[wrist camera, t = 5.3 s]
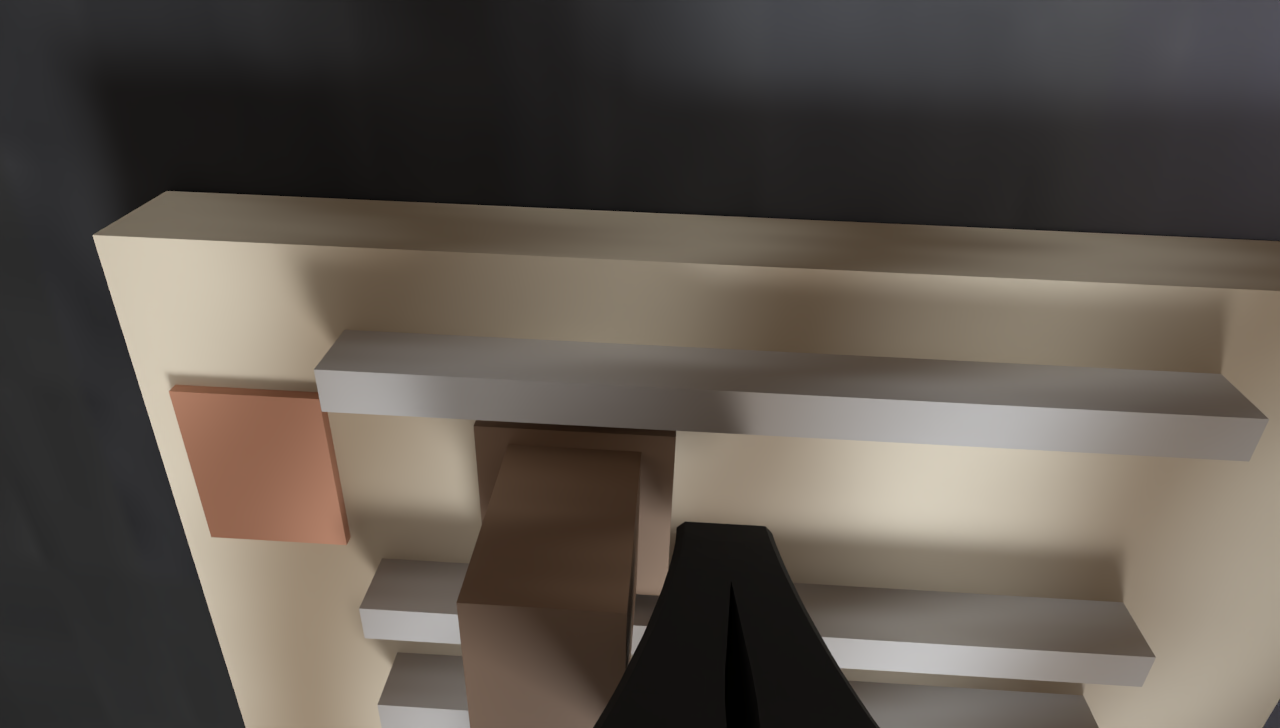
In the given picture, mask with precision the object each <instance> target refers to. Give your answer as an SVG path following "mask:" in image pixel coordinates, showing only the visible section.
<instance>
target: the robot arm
mask: <svg viewBox="0 0 1280 728" xmlns="http://www.w3.org/2000/svg"><path fill="white" fill-rule="evenodd" d="M593 728H880V727H879V726H878V725H877V723H876V722H875V720H874V719H873V718H872V716H871V715H870V713H869V712H868V710H867V709H866V707H865V706H864V704H863V703H862V701H861V700H860V698H859V697H858V695H857V694H856V692H855V691H854V689H853V688H852V686H851V685H850V683H849V681H848V680H847V678H846V677H845V675H844V674H843V672H842V671H841V669H840V667H839V666H838V664H837V662H836V661H835V659H834V657H833V656H832V654H831V652H830V651H829V649H828V647H827V645H826V644H825V642H824V640H823V638H822V637H821V635H820V633H819V631H818V630H817V628H816V626H815V624H814V622H813V621H812V619H811V617H810V615H809V613H808V612H807V610H806V608H805V606H804V604H803V602H802V600H801V598H800V596H799V594H798V592H797V590H796V588H795V586H794V584H793V582H792V580H791V578H790V576H789V573H788V571H787V569H786V567H785V565H784V562H783V560H782V558H781V555H780V553H779V550H778V548H777V545H776V543H775V540H774V537H773V534H772V532H771V531H770V530H769V529H768V528H767V527H766V526H755V525H738V524H720V523H703V522H686V521H685V522H684V523H682V524H681V525H679V526H678V527H677V529H676V540H675V546H674V551H673V555H672V559H671V563H670V566H669V569H668V572H667V575H666V578H665V581H664V584H663V587H662V590H661V593H660V595H659V598H658V600H657V603H656V605H655V608H654V610H653V613H652V615H651V617H650V620H649V622H648V625H647V627H646V629H645V632H644V634H643V636H642V638H641V640H640V642H639V644H638V646H637V648H636V650H635V652H634V654H633V656H632V658H631V660H630V662H629V664H628V666H627V668H626V670H625V672H624V674H623V676H622V678H621V680H620V682H619V684H618V686H617V688H616V689H615V691H614V693H613V695H612V696H611V698H610V700H609V702H608V704H607V705H606V707H605V709H604V710H603V712H602V714H601V715H600V717H599V719H598V720H597V722H596V724H595V725H594V727H593Z"/></svg>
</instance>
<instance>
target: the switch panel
mask: <svg viewBox="0 0 1280 728" xmlns="http://www.w3.org/2000/svg"><path fill="white" fill-rule="evenodd" d="M93 238H94V242H95V245H96V248H97V251H98V254H99V258H100V261H101V264H102V267H103V270H104V274H105V277H106V280H107V283H108V286H109V290H110V293H111V296H112V299H113V303H114V306H115V309H116V312H117V315H118V319H119V322H120V325H121V328H122V331H123V335H124V338H125V341H126V344H127V347H128V351H129V354H130V357H131V360H132V364H133V367H134V370H135V373H136V376H137V380H138V383H139V386H140V389H141V392H142V396H143V399H144V402H145V405H146V408H147V412H148V415H149V418H150V421H151V425H152V428H153V431H154V434H155V437H156V441H157V444H158V447H159V450H160V453H161V457H162V460H163V463H164V466H165V469H166V473H167V476H168V479H169V482H170V486H171V489H172V492H173V495H174V498H175V502H176V505H177V508H178V511H179V514H180V518H181V521H182V524H183V527H184V530H185V534H186V537H187V540H188V543H189V547H190V550H191V553H192V556H193V559H194V563H195V566H196V569H197V572H198V575H199V579H200V582H201V585H202V588H203V592H204V595H205V598H206V601H207V604H208V608H209V611H210V614H211V617H212V620H213V624H214V627H215V630H216V633H217V636H218V640H219V643H220V646H221V649H222V653H223V656H224V659H225V662H226V665H227V669H228V672H229V675H230V678H231V681H232V685H233V688H234V691H235V694H236V697H237V701H238V704H239V707H240V710H241V714H242V717H243V720H244V723H245V726H246V728H470V722H469V713H468V704H467V695H466V686H465V677H464V668H463V659H462V650H461V640H460V631H459V622H458V613H457V604H456V602H457V599H458V596H459V593H460V590H461V587H462V584H463V581H464V578H465V575H466V572H467V569H468V566H469V563H470V559H471V556H472V553H473V550H474V547H475V544H476V541H477V538H478V535H479V532H480V529H481V526H482V521H481V510H480V498H479V486H478V474H477V462H476V450H475V438H474V424H475V421H476V420H485V421H504V422H522V423H541V424H560V425H578V426H597V427H615V428H634V429H653V430H671V431H676V445H675V462H674V479H673V496H672V513H671V530H670V547H669V564H668V569H669V566H670V563H671V559H672V555H673V551H674V546H675V540H676V529H677V527H678V526H679V525H681V524H682V523H684V522H685V521H686V522H703V523H720V524H738V525H755V526H766V527H767V528H768V529H769V530H770V531H771V532H772V534H773V537H774V540H775V543H776V545H777V548H778V550H779V553H780V555H781V558H782V560H783V562H784V565H785V567H786V569H787V571H788V573H789V576H790V578H791V580H792V582H793V584H794V586H795V588H796V590H797V592H798V594H799V596H800V598H801V600H802V602H803V604H804V606H805V608H806V610H807V612H808V613H809V615H810V617H811V619H812V621H813V622H814V624H815V626H816V628H817V630H818V631H819V633H820V635H821V637H822V638H823V640H824V642H825V644H826V645H827V647H828V649H829V651H830V652H831V654H832V656H833V657H834V659H835V661H836V662H837V664H838V666H839V667H840V669H841V671H842V672H843V674H844V675H845V677H846V678H847V680H848V681H849V683H850V685H851V686H852V688H853V689H854V691H855V692H856V694H857V695H858V697H859V698H860V700H861V701H862V703H863V704H864V706H865V707H866V709H867V710H868V712H869V713H870V715H871V716H872V718H873V719H874V720H875V722H876V723H877V725H878V726H879V727H880V728H1263V726H1264V724H1265V723H1266V721H1267V719H1268V718H1269V716H1270V714H1271V713H1272V711H1273V709H1274V708H1275V706H1276V704H1277V703H1278V701H1279V699H1280V241H1264V240H1242V239H1220V238H1198V237H1176V236H1153V235H1131V234H1109V233H1087V232H1065V231H1043V230H1021V229H999V228H977V227H954V226H932V225H910V224H888V223H866V222H844V221H822V220H800V219H778V218H756V217H733V216H711V215H689V214H667V213H645V212H623V211H601V210H579V209H557V208H534V207H512V206H490V205H468V204H446V203H424V202H402V201H380V200H358V199H335V198H313V197H291V196H269V195H247V194H225V193H203V192H181V191H166V192H164V193H162V194H161V195H159V196H157V197H155V198H154V199H152V200H150V201H149V202H147V203H145V204H144V205H142V206H140V207H139V208H137V209H135V210H134V211H132V212H130V213H129V214H127V215H125V216H124V217H122V218H120V219H119V220H117V221H115V222H114V223H112V224H110V225H109V226H107V227H105V228H104V229H102V230H100V231H98V232H97V233H95V234H93ZM658 598H659V596H656V595H639V594H636V599H635V611H634V624H633V636H632V648H631V658H632V656H633V654H634V652H635V650H636V648H637V646H638V644H639V642H640V640H641V638H642V636H643V634H644V632H645V629H646V627H647V625H648V622H649V620H650V617H651V615H652V613H653V610H654V608H655V605H656V603H657V600H658Z"/></svg>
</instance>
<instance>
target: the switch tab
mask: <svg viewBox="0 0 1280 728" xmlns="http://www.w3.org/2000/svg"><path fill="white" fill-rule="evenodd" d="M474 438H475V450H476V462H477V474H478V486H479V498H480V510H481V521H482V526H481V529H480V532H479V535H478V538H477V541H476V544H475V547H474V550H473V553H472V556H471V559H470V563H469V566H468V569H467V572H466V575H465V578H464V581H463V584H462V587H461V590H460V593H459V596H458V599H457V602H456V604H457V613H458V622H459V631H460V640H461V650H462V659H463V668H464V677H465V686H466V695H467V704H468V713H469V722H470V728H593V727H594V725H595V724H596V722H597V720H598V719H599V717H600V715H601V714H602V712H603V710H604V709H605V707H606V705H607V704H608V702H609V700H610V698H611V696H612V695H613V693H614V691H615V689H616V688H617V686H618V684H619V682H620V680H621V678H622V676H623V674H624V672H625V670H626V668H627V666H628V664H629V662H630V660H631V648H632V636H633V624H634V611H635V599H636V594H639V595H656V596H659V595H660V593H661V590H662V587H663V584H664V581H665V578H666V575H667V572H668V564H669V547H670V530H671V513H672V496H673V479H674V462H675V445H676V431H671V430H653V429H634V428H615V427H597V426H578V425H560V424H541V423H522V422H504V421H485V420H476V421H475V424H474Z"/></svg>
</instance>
